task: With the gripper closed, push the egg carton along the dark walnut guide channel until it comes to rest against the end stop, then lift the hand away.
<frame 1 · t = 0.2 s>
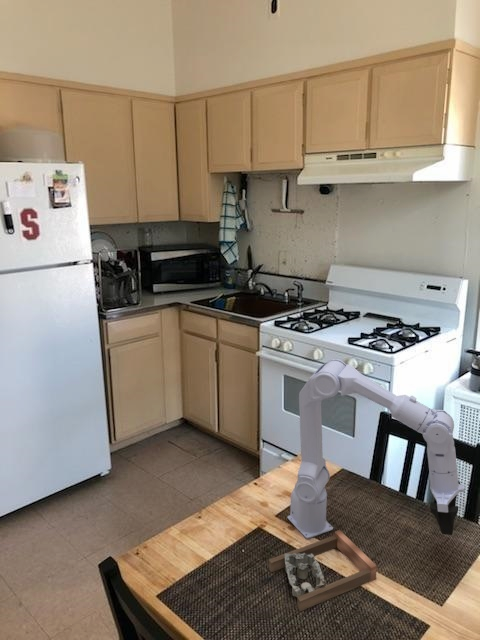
hand: (448, 523, 115), 10 cm above the table, tool pointing down, fingers open, 7 cm apart
egg carton: (303, 582, 114), on the table
guide channel: (318, 575, 115), on the table
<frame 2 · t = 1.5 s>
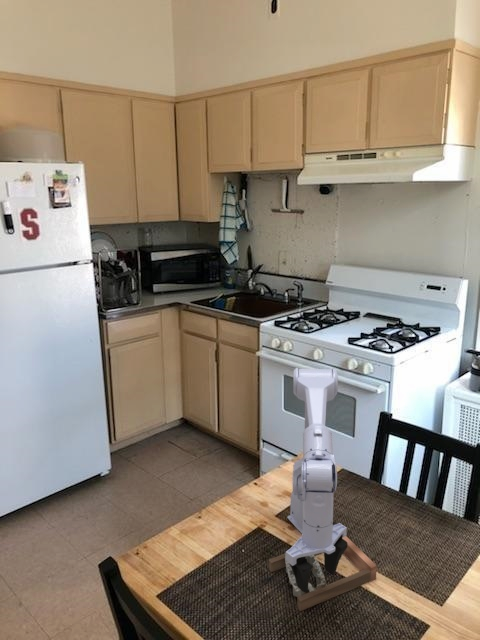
hand: (316, 580, 102), 9 cm above the table, tool pointing down, fingers open, 7 cm apart
nothing on the table moved.
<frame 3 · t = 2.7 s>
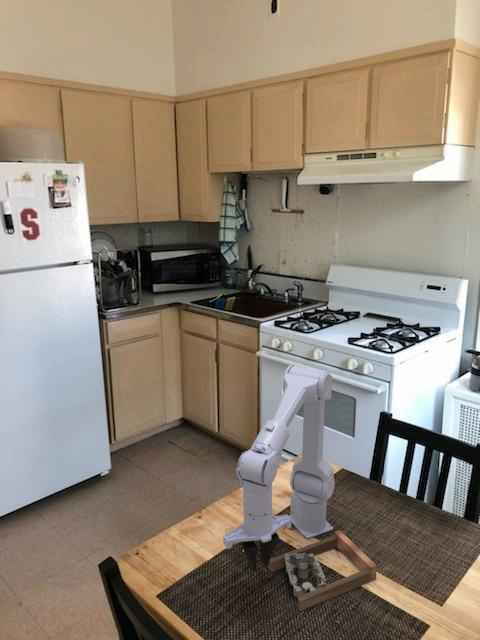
hand: (258, 565, 107), 8 cm above the table, tool pointing down, fingers closed
nothing on the table moved.
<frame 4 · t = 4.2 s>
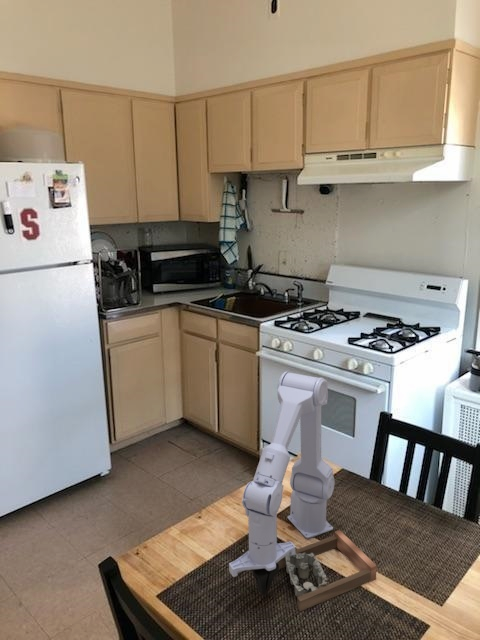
hand: (263, 591, 109), 1 cm above the table, tool pointing down, fingers closed
egg carton: (305, 582, 114), on the table, touching guide channel
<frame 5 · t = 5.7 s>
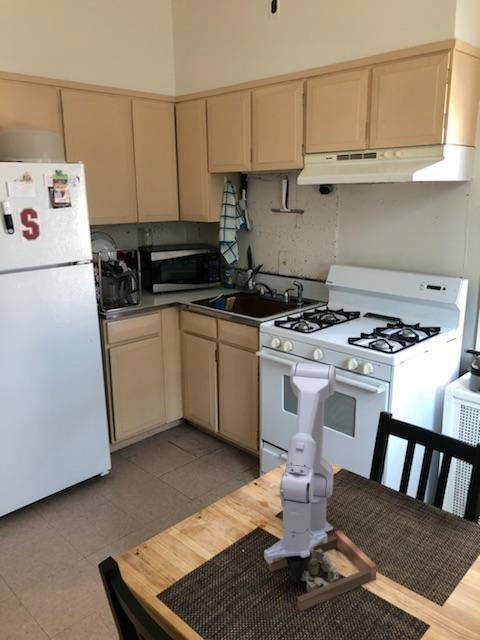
hand: (296, 578, 112), 1 cm above the table, tool pointing down, fingers closed
egg carton: (315, 577, 115), on the table, touching gripper
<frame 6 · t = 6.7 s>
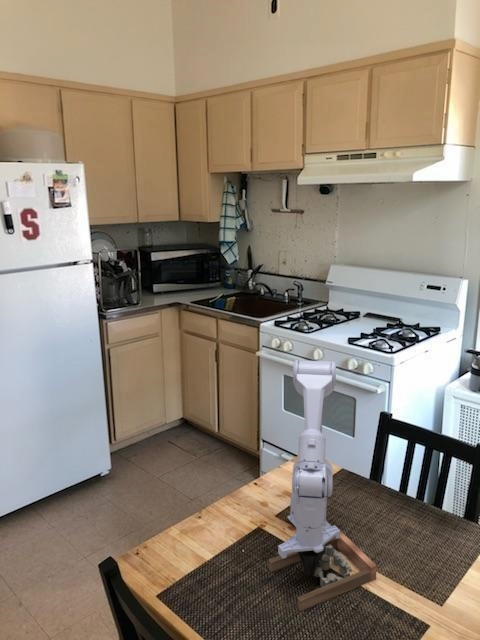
hand: (309, 573, 114), 1 cm above the table, tool pointing down, fingers closed
egg carton: (327, 573, 116), on the table
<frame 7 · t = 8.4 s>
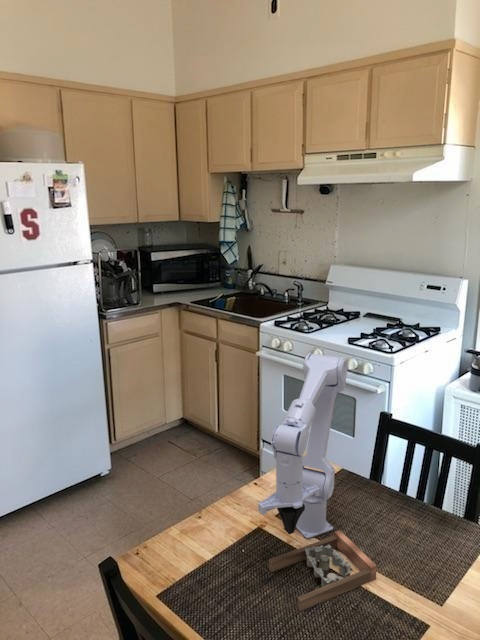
hand: (289, 531, 116), 9 cm above the table, tool pointing down, fingers closed
nothing on the table moved.
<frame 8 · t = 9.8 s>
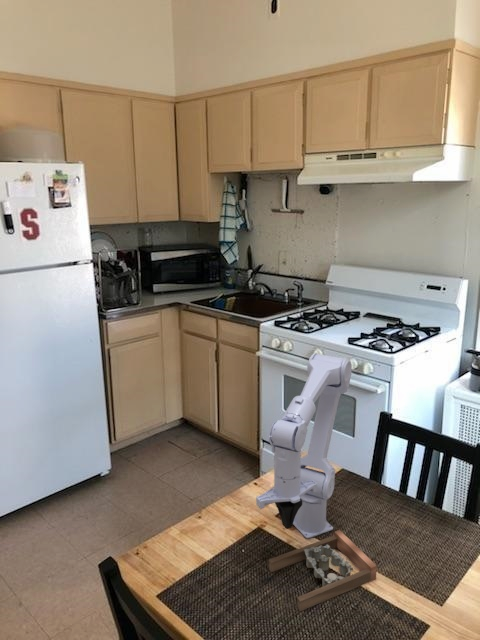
hand: (287, 525, 117), 9 cm above the table, tool pointing down, fingers closed
nothing on the table moved.
at the end: egg carton 1.2 cm from the target spot, on the table; egg carton tilted 0° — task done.
